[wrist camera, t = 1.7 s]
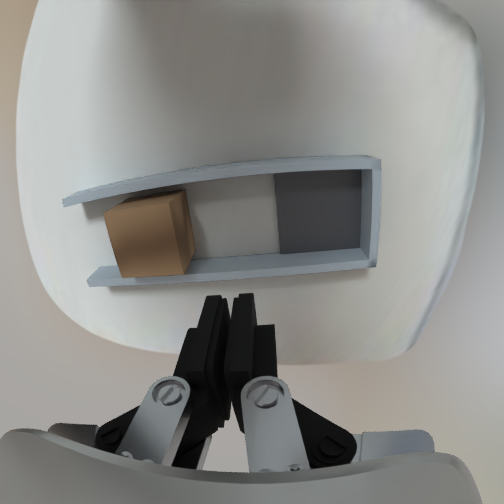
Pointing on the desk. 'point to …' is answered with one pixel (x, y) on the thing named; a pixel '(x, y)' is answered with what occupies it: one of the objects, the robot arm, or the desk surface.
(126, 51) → the desk surface
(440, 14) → the desk surface
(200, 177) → the channel
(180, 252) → the walnut block
